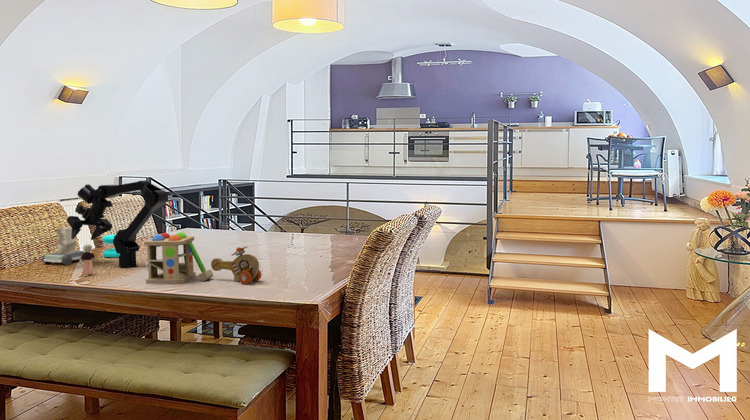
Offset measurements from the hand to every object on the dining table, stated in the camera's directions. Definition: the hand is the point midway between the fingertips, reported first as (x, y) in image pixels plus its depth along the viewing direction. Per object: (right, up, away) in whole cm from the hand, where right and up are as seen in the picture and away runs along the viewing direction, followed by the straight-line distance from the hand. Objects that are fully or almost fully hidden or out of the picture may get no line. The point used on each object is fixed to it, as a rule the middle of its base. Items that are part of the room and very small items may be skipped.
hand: (82, 239), depth 259 cm
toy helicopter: (+77, -14, -37) cm, 87 cm away
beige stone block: (-10, -8, +6) cm, 14 cm away
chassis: (-10, -11, +6) cm, 16 cm away
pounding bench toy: (+55, -14, -33) cm, 66 cm away
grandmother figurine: (+15, -13, -24) cm, 31 cm away
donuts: (+5, -10, +22) cm, 24 cm away
